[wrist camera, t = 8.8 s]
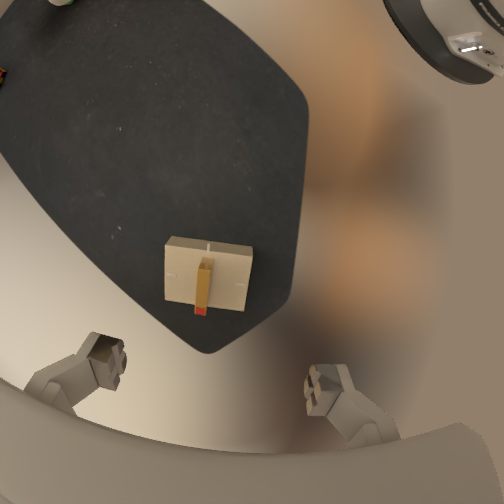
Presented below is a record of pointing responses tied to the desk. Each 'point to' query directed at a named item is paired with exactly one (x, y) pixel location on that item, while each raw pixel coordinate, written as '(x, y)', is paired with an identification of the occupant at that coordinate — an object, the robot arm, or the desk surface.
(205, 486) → the robot arm
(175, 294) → the tan block
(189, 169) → the desk surface
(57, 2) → the cup
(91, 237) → the desk surface
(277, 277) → the desk surface
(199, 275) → the yellow slab
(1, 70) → the rubik's cube
